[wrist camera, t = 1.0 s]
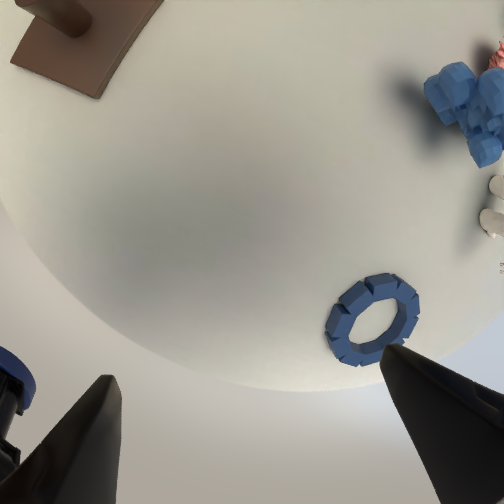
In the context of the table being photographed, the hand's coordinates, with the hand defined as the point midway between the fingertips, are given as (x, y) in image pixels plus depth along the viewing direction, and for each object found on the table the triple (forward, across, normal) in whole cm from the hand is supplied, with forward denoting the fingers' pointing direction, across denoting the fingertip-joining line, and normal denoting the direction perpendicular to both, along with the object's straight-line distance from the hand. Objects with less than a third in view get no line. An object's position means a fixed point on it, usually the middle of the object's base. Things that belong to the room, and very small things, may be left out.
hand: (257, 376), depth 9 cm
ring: (+14, -14, +9) cm, 21 cm away
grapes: (+14, -18, -9) cm, 24 cm away
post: (+14, +9, -15) cm, 22 cm away
